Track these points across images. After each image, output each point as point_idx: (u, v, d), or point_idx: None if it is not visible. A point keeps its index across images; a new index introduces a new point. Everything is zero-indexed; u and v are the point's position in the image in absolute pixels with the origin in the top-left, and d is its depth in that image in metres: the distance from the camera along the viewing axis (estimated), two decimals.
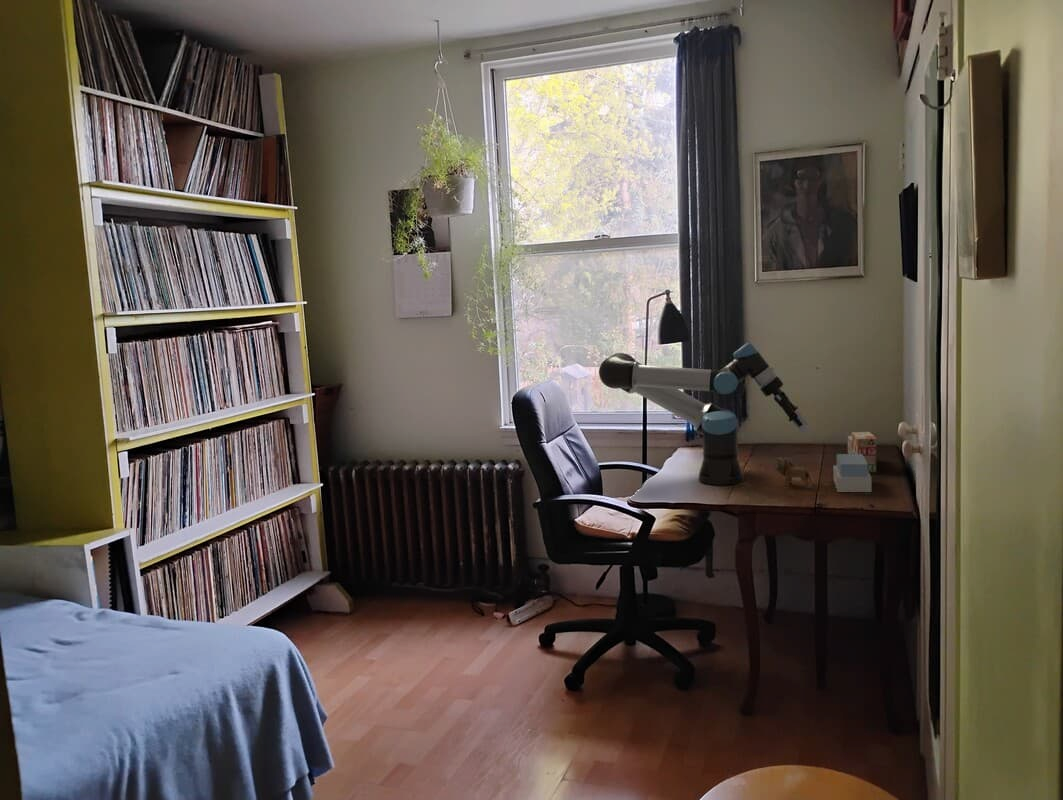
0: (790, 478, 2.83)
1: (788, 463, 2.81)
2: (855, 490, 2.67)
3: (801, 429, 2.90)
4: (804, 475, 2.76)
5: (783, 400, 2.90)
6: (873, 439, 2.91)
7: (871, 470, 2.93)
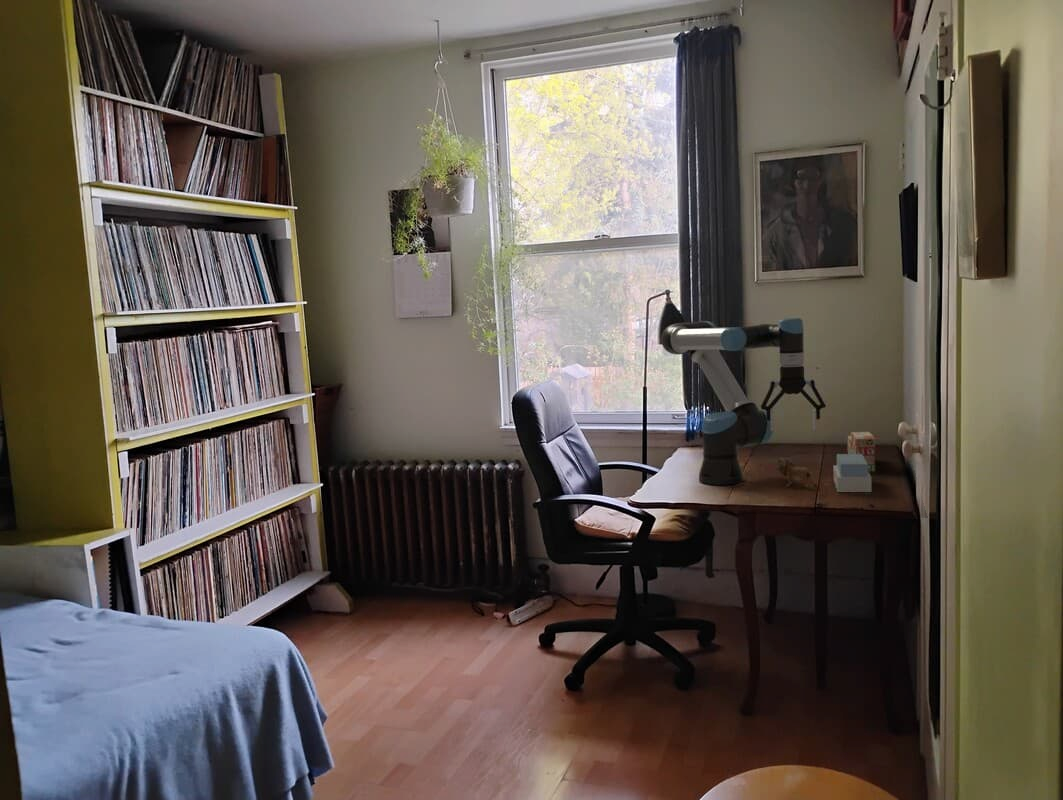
0: (791, 478, 2.83)
1: (789, 463, 2.81)
2: (855, 490, 2.67)
3: (770, 423, 2.81)
4: (805, 475, 2.75)
5: (769, 389, 2.78)
6: (872, 439, 2.92)
7: (870, 470, 2.93)
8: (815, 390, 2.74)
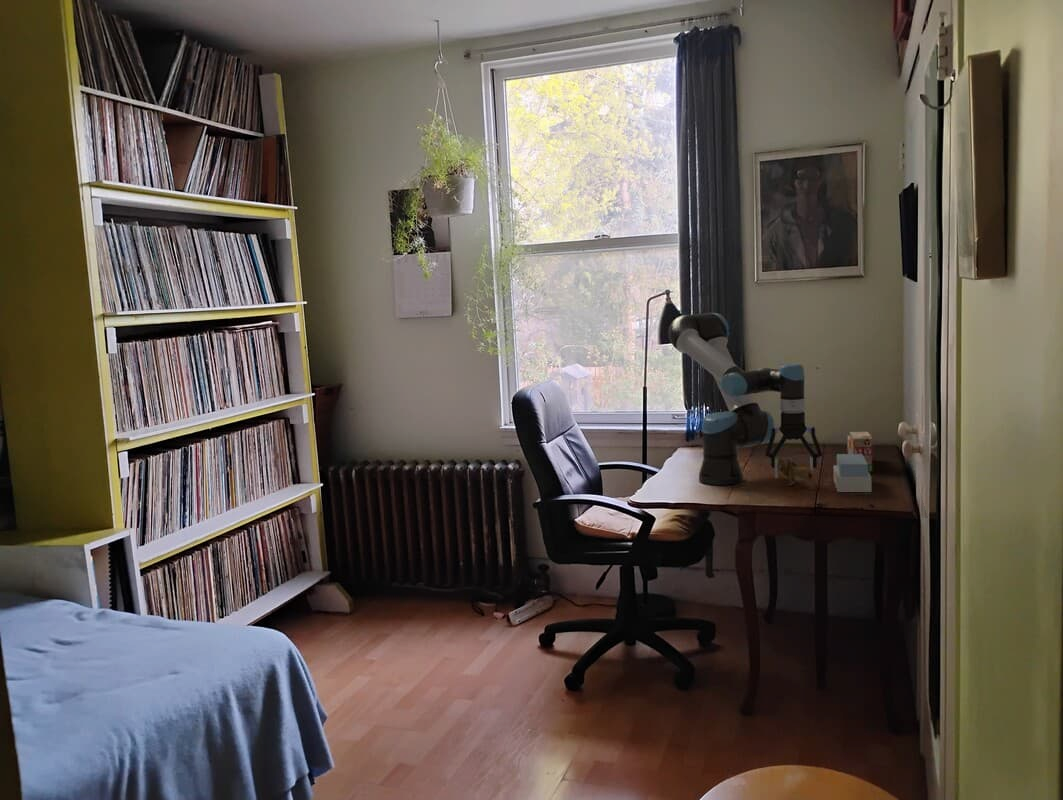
0: (793, 478, 2.82)
1: (791, 463, 2.80)
2: (855, 490, 2.67)
3: None
4: (807, 475, 2.75)
5: (771, 436, 2.80)
6: (869, 439, 2.92)
7: None
8: (814, 438, 2.75)
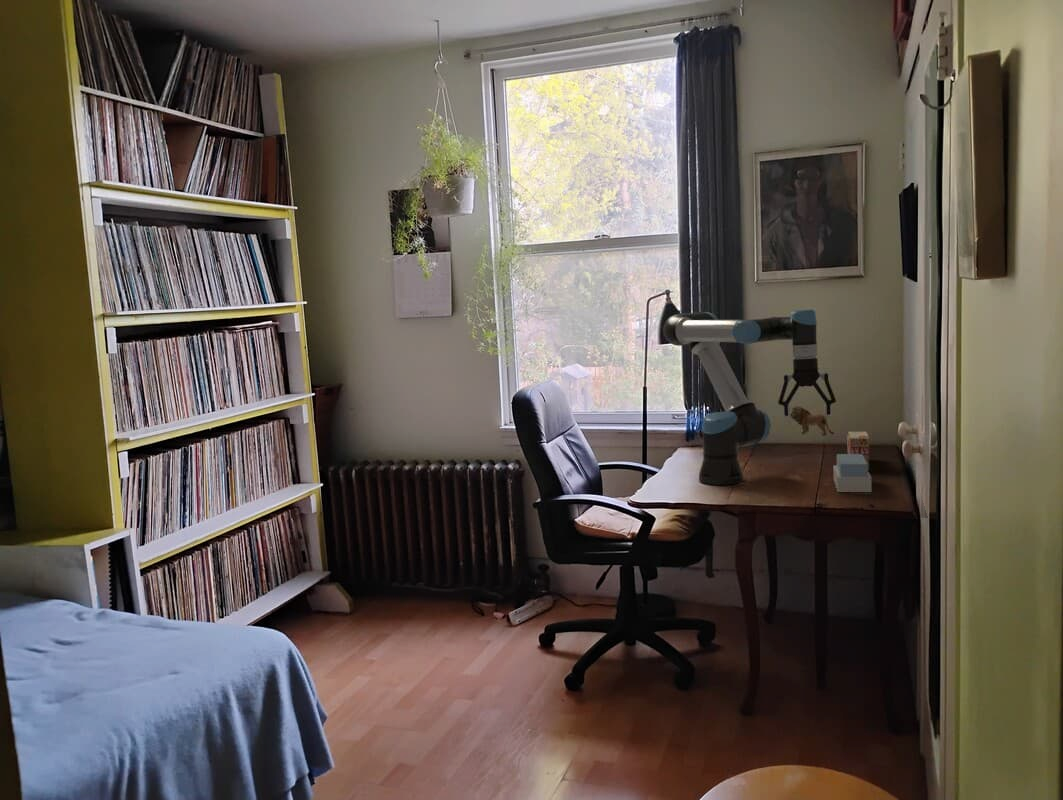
0: (807, 427, 2.78)
1: (804, 411, 2.76)
2: (855, 490, 2.67)
3: None
4: (821, 422, 2.71)
5: None
6: (866, 439, 2.93)
7: None
8: (828, 384, 2.71)
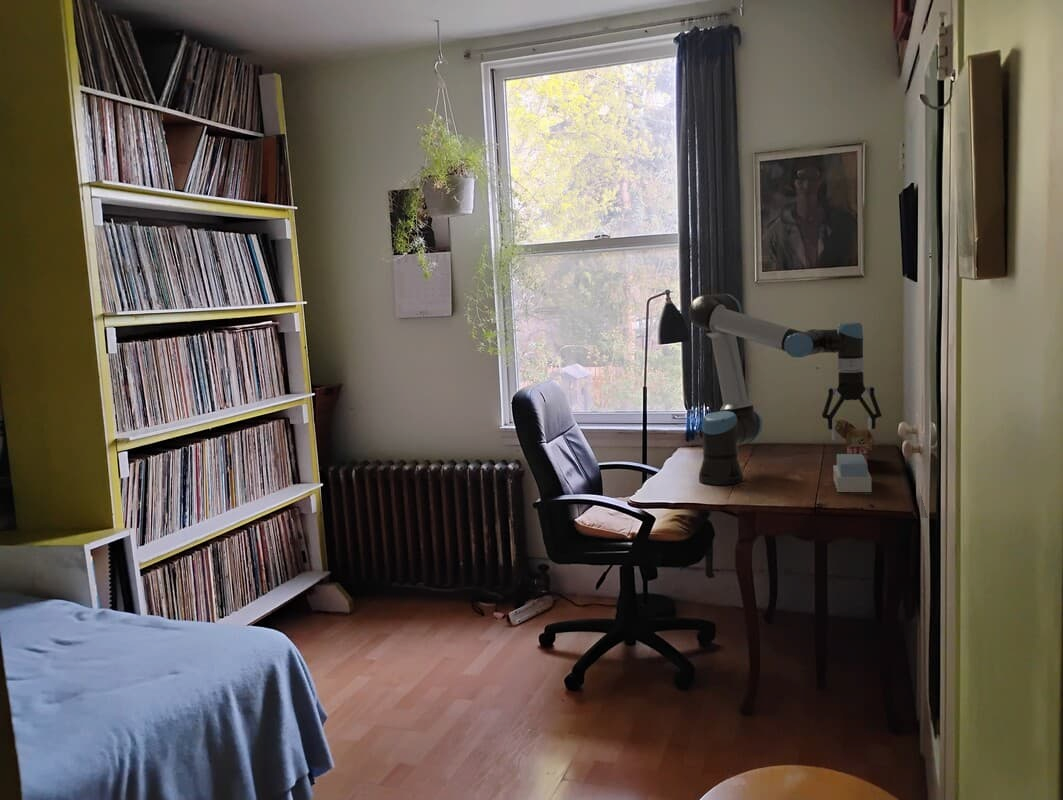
0: (850, 440, 2.76)
1: (849, 425, 2.74)
2: (855, 490, 2.67)
3: None
4: (866, 436, 2.68)
5: (828, 397, 2.73)
6: None
7: None
8: (873, 398, 2.69)
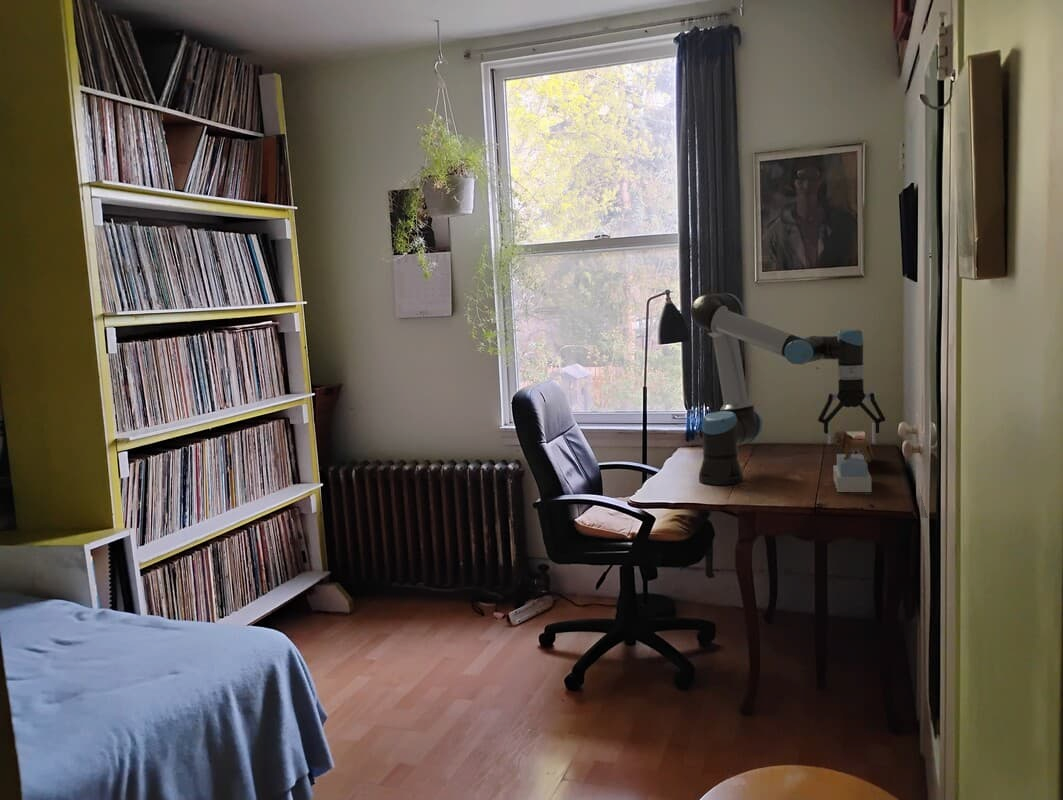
0: (849, 452, 2.76)
1: (847, 436, 2.74)
2: (855, 490, 2.67)
3: None
4: (865, 448, 2.69)
5: (827, 402, 2.73)
6: (862, 439, 2.93)
7: None
8: (875, 403, 2.69)
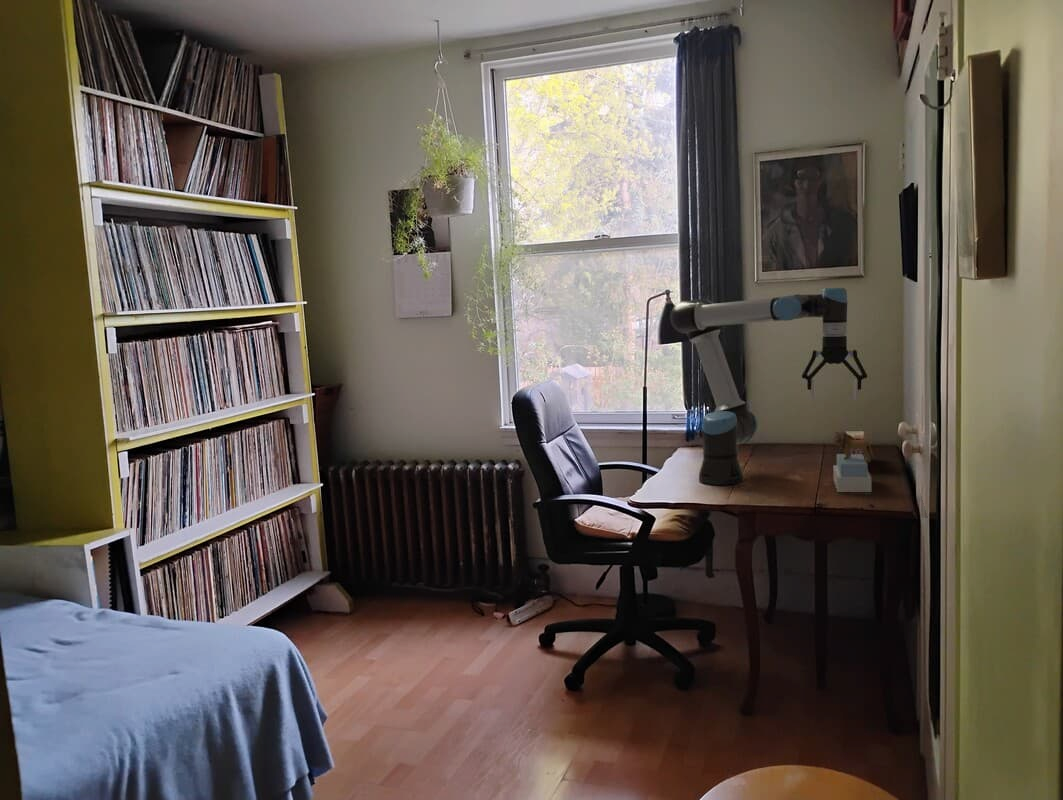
0: (849, 452, 2.76)
1: (847, 436, 2.74)
2: (855, 490, 2.67)
3: None
4: (865, 448, 2.69)
5: (811, 358, 2.79)
6: (860, 438, 2.94)
7: None
8: (857, 360, 2.74)
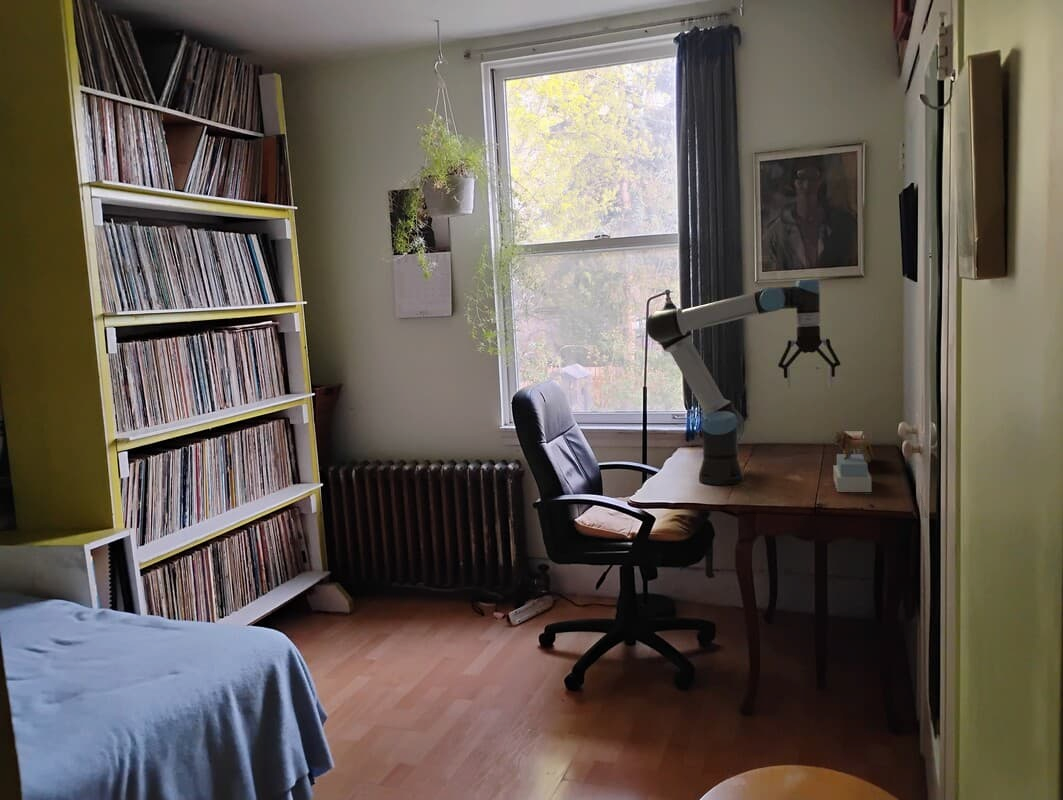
0: (849, 452, 2.76)
1: (847, 436, 2.74)
2: (855, 490, 2.67)
3: None
4: (865, 448, 2.69)
5: (786, 348, 2.91)
6: (857, 438, 2.94)
7: None
8: (830, 349, 2.86)
